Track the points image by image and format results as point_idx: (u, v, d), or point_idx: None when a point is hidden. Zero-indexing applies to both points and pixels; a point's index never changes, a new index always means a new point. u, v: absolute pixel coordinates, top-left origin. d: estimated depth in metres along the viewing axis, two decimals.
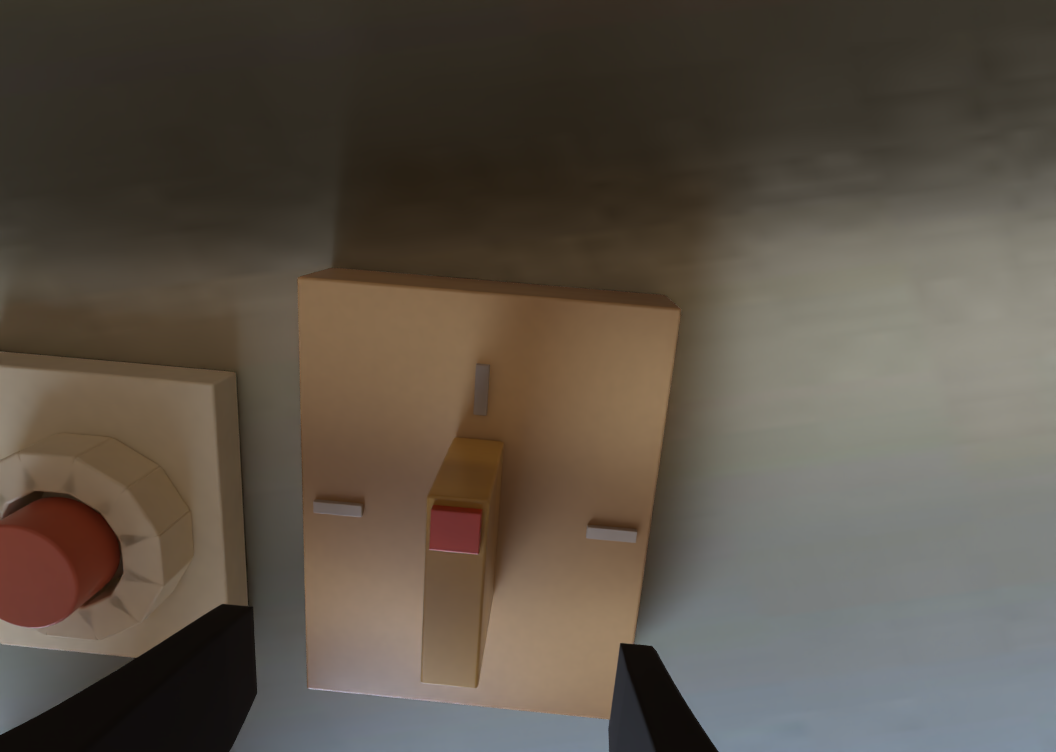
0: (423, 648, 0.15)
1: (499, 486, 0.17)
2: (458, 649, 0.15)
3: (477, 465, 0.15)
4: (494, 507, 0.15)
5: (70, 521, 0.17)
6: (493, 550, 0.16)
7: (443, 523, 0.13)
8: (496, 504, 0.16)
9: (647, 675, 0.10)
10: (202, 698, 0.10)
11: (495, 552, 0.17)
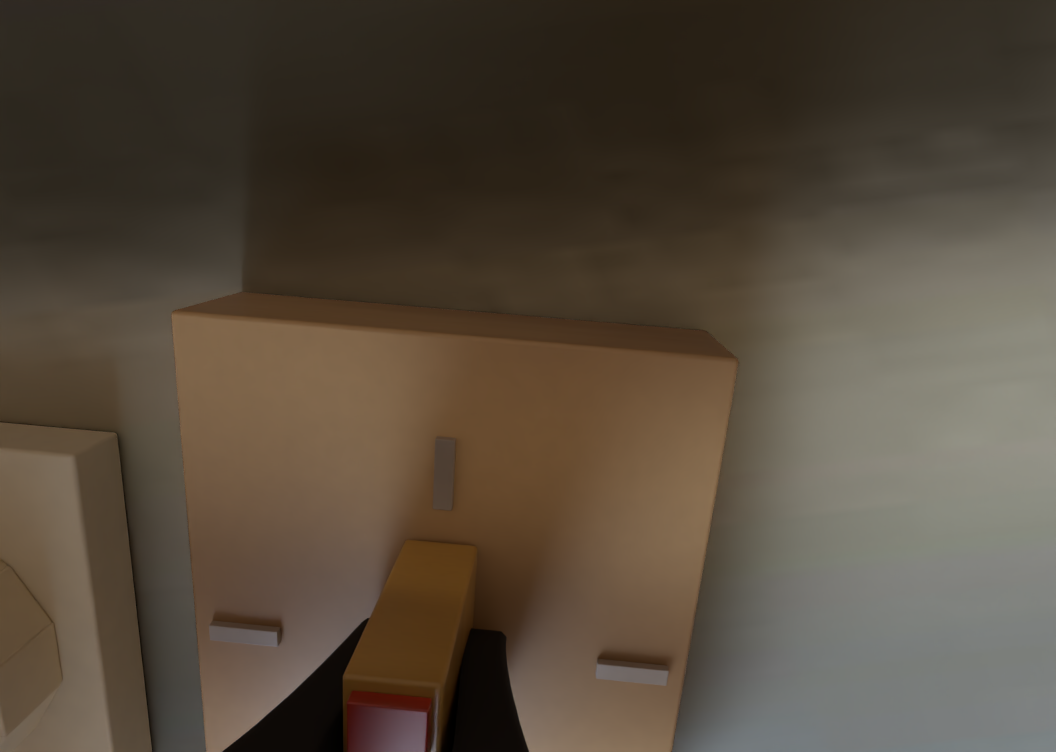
0: None
1: (470, 615, 0.11)
2: None
3: (433, 598, 0.10)
4: (458, 663, 0.10)
5: None
6: None
7: (369, 724, 0.08)
8: (464, 648, 0.11)
9: (480, 658, 0.11)
10: None
11: None
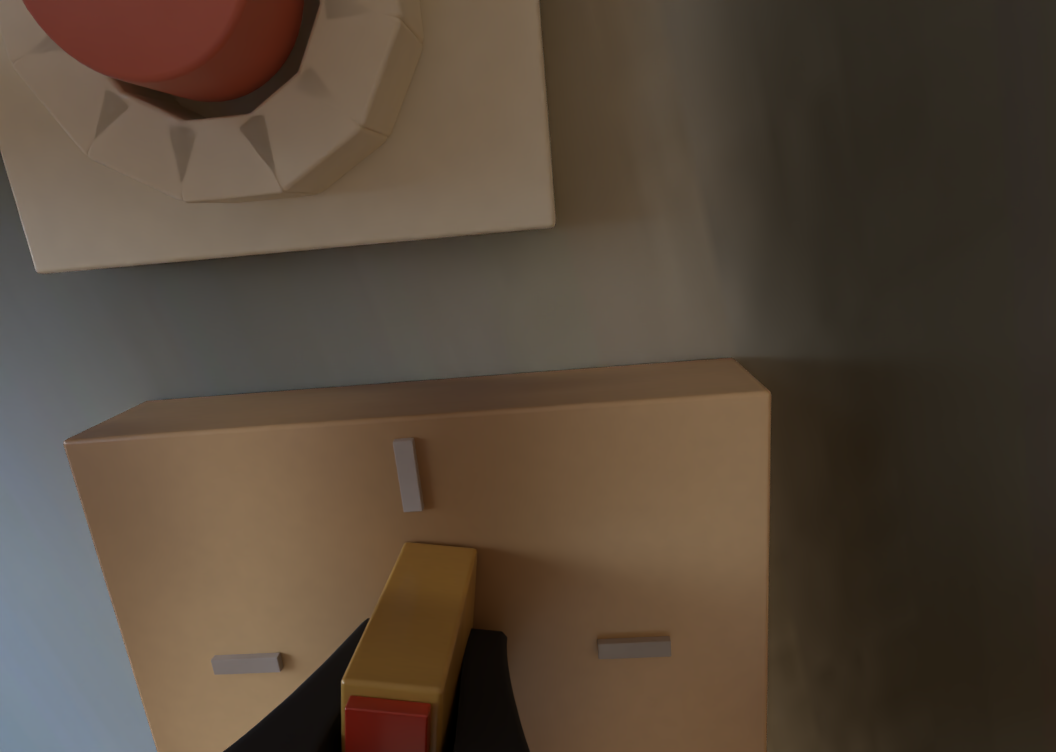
0: None
1: (470, 618, 0.11)
2: None
3: (433, 601, 0.10)
4: (458, 667, 0.10)
5: (273, 27, 0.09)
6: None
7: (366, 731, 0.08)
8: (463, 652, 0.11)
9: (480, 658, 0.11)
10: None
11: None
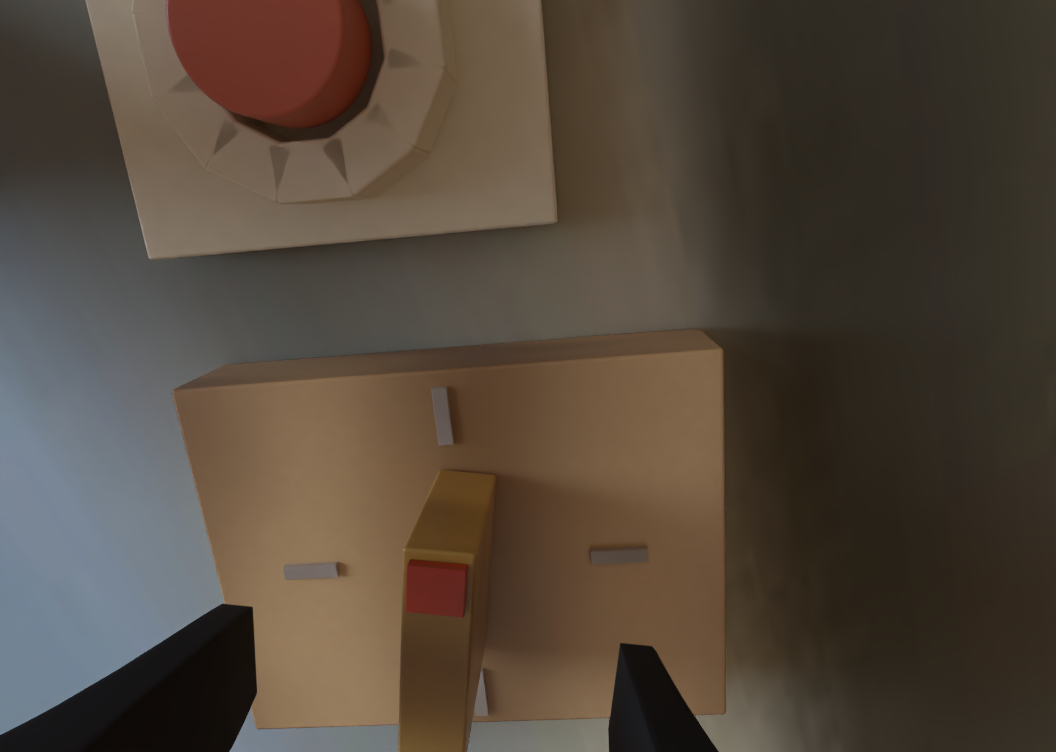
0: (400, 721, 0.13)
1: (490, 527, 0.15)
2: (441, 723, 0.13)
3: (465, 505, 0.13)
4: (484, 555, 0.13)
5: (352, 76, 0.12)
6: (483, 600, 0.14)
7: (422, 583, 0.11)
8: (486, 549, 0.14)
9: (646, 675, 0.11)
10: (202, 698, 0.10)
11: (486, 599, 0.15)
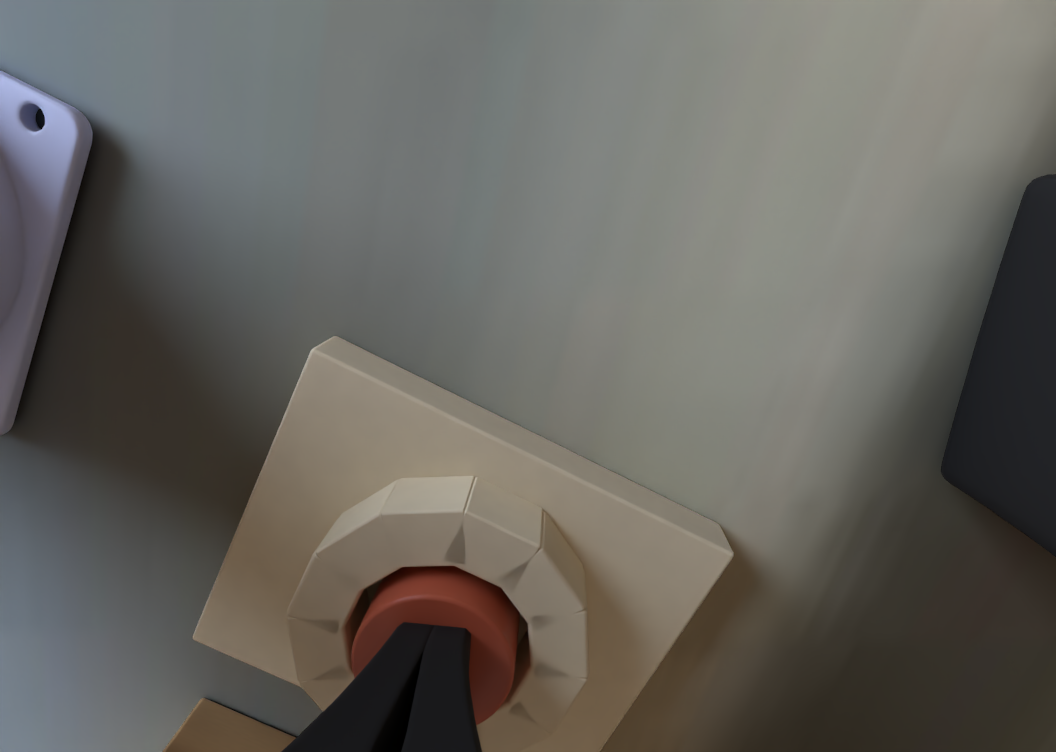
0: None
1: None
2: None
3: None
4: None
5: None
6: None
7: None
8: None
9: (441, 654, 0.11)
10: None
11: None
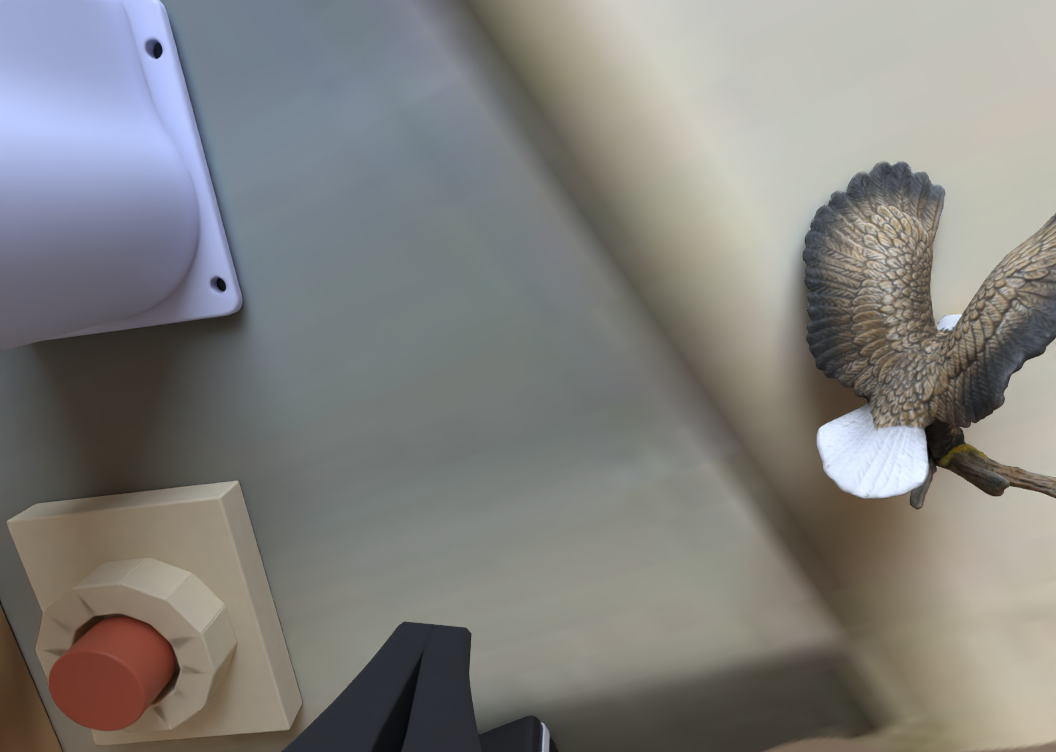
0: None
1: None
2: None
3: None
4: None
5: None
6: None
7: None
8: None
9: (441, 654, 0.11)
10: None
11: None
